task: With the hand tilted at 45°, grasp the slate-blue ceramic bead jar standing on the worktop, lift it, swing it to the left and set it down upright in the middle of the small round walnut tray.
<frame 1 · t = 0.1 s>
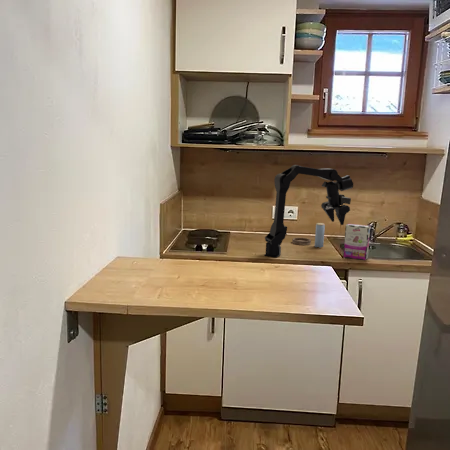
hand: (337, 223, 236), 15 cm above the kitchen counter, tool pointing down, fingers open, 9 cm apart
candy bar box: (355, 258, 230), on the kitchen counter
walnut tray: (301, 243, 259), on the kitchen counter
bead jar: (318, 246, 252), on the kitchen counter
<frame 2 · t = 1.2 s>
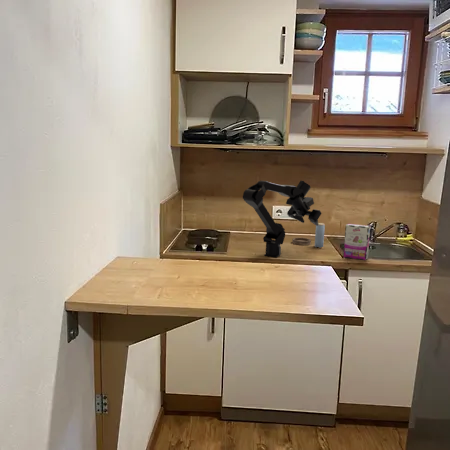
hand: (310, 223, 244), 13 cm above the kitchen counter, tool tilted 45°, fingers open, 9 cm apart
nothing on the kitchen counter moved.
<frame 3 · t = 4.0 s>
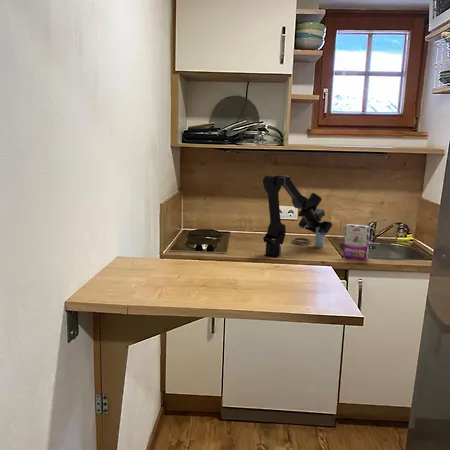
hand: (321, 234, 251), 7 cm above the kitchen counter, tool tilted 45°, fingers closed on bead jar, 5 cm apart
bead jar: (318, 246, 252), on the kitchen counter, touching gripper
everything else where it was.
when the fingers open (9 cm above the kitchen counter, at t = 7.4 s): bead jar drops 1 cm, resting on walnut tray.
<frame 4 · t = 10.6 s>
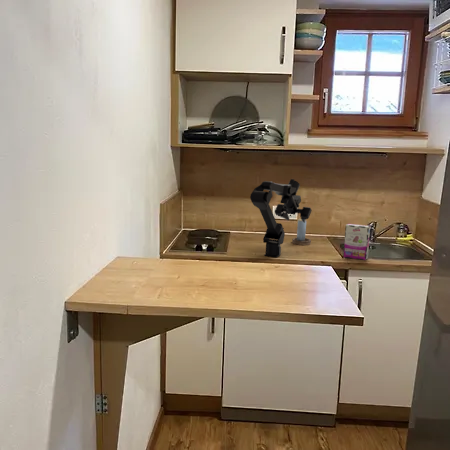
hand: (296, 220, 249), 14 cm above the kitchen counter, tool tilted 45°, fingers open, 9 cm apart
bead jar: (300, 242, 258), point 1 cm above the kitchen counter, touching walnut tray
everything else where it was.
at the end: bead jar 1.2 cm from the walnut tray (horizontally); bead jar tilted 0°; the gripper is holding nothing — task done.
